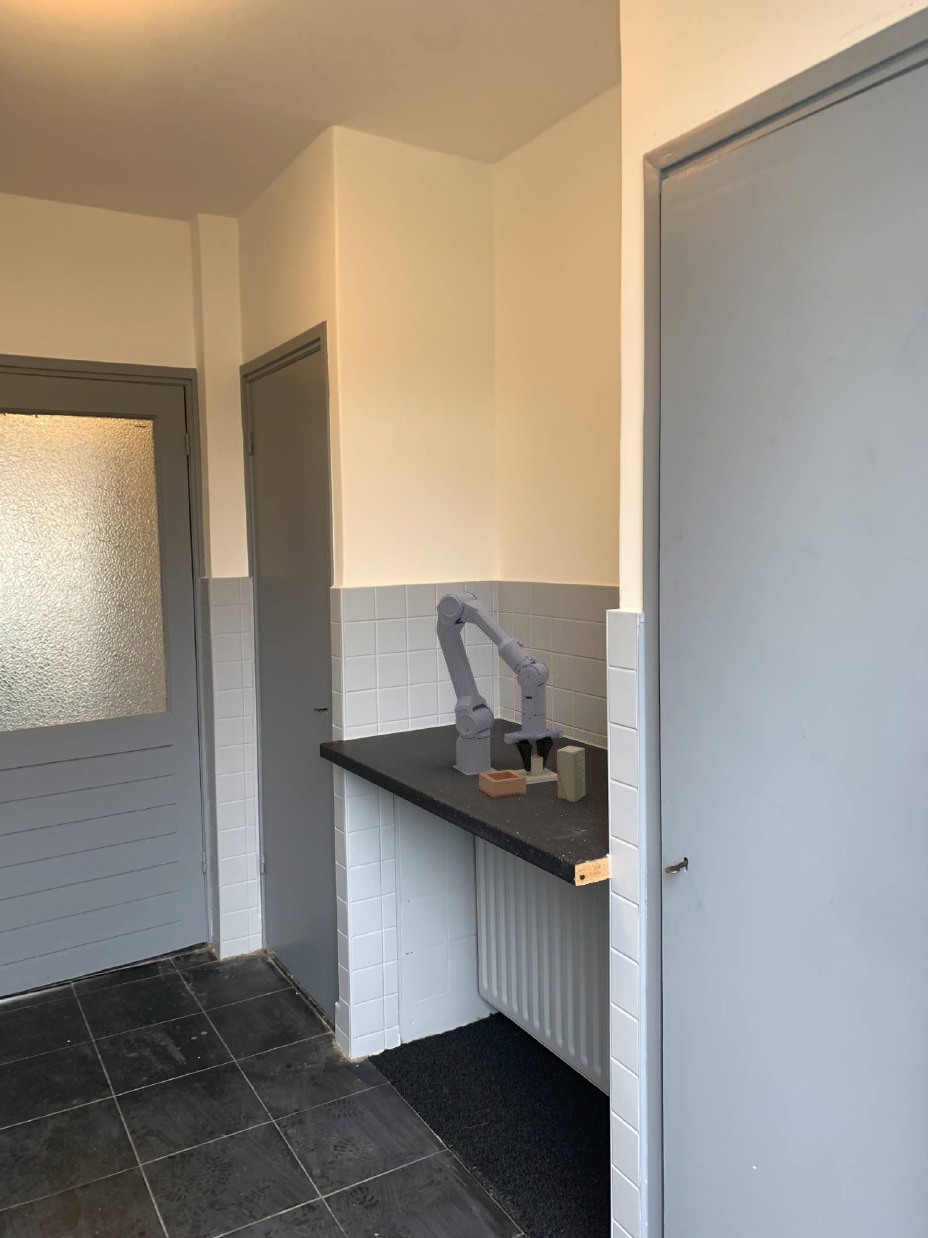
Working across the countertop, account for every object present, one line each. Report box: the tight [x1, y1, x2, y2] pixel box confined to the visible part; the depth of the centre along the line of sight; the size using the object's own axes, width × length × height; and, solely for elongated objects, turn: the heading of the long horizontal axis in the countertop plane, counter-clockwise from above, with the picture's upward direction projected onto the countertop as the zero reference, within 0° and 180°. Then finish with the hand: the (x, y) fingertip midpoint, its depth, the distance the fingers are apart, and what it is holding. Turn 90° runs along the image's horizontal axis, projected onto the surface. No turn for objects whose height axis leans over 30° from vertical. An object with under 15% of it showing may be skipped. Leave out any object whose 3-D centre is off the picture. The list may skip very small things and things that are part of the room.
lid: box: [512, 754, 557, 784], centre depth 213 cm, size 9×9×5 cm
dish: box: [478, 769, 527, 800], centre depth 201 cm, size 8×8×4 cm
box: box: [556, 745, 586, 803], centre depth 196 cm, size 5×4×11 cm
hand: (534, 770), depth 213 cm, fingers closed on lid, 3 cm apart
